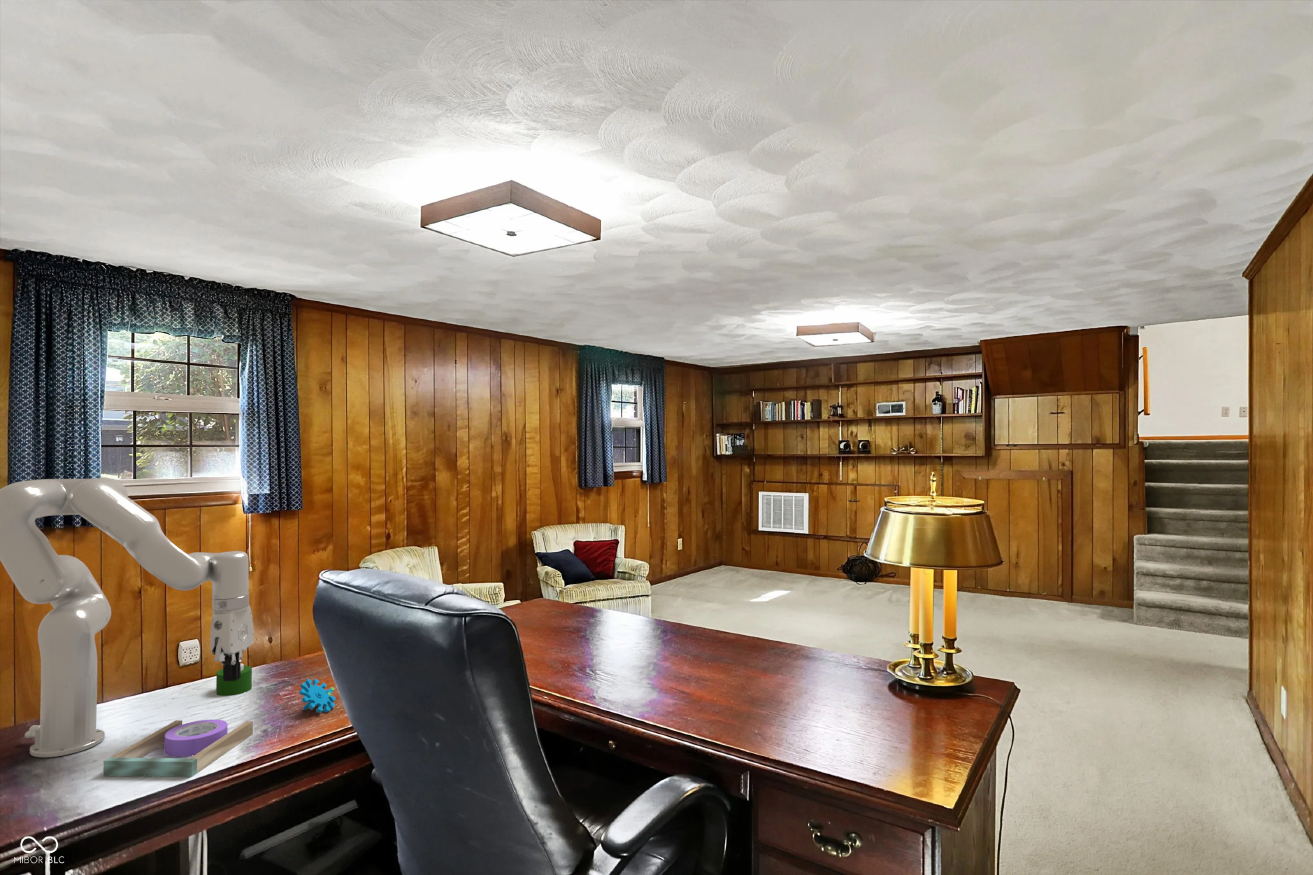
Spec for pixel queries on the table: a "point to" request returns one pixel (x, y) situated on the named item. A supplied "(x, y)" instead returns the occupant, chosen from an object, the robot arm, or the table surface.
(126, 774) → the bay
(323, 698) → the gear
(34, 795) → the table surface
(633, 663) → the table surface
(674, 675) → the table surface
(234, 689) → the candle
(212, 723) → the masking tape
